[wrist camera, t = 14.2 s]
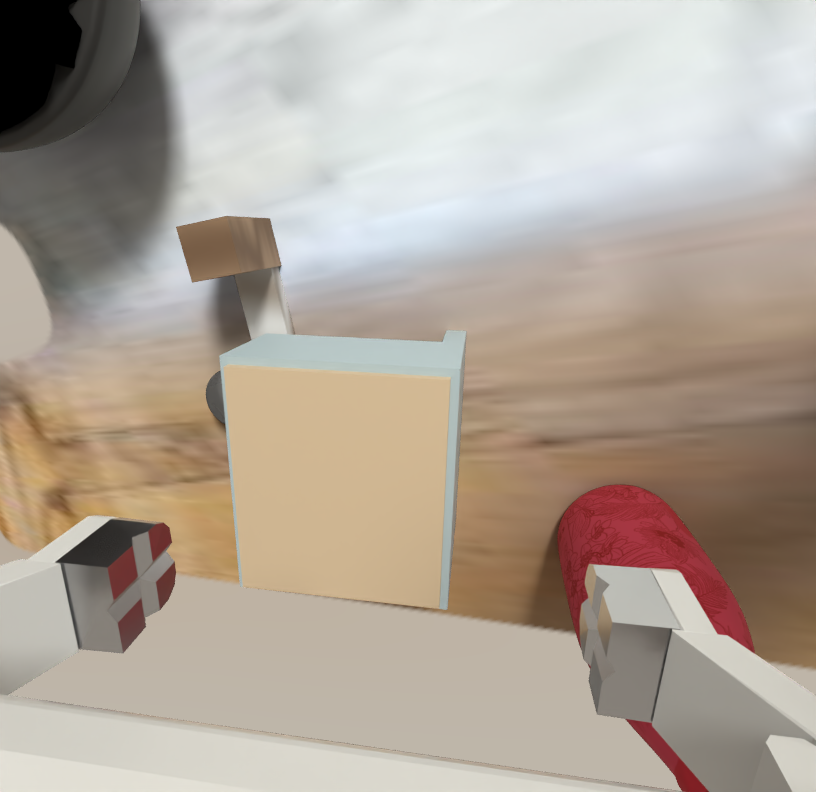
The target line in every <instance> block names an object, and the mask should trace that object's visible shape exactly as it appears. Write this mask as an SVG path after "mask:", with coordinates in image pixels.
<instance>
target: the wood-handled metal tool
mask: <svg viewBox="0 0 816 792" xmlns="http://www.w3.org/2000/svg"><path fill="white" fill-rule="evenodd" d="M176 228H177V232H178V235H179V239H180V242H181V245H182V249H183V252H184V256H185V259H186V263H187V266H188V269H189V273H190V276H191V280H192V282H198V281H203V280H209V279H214V278H220V277H226V276H231V275H234V277H235V281H236V285H237V288H238V292H239V296H240V299H241V303H242V307H243V310H244V314H245V318H246V322H247V325H248V329H249V333H250V336H251V340H253V339H255V338H258V337H260V336H262V335H264V334H266V333H269V334H290V335H295V332H294V328H293V324H292V320H291V316H290V312H289V307H288V303H287V299H286V295H285V291H284V287H283V283H282V279H281V275H280V271H279V267H278V266H281V262H280V258H279V254H278V250H277V246H276V242H275V238H274V234H273V230H272V225H271V221H270V219H269V218H251V217H234V216H224V217H220V218H215V219H211V220H206V221H201V222H197V223H192V224H188V225H183V226H178V227H176Z"/></svg>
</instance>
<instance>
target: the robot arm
mask: <svg viewBox="0 0 816 792" xmlns="http://www.w3.org/2000/svg"><path fill="white" fill-rule="evenodd" d="M171 543H172V540H171V534H170V529H169V527H168V526H167V525H166V524H164V523H162V522H153V521H145V520H136V519H128V518H116V517H111V516H99V515H95V516H88V517H86V518H85V519H84V520H82V521H81V522H79V523H78V524H77V525H75V526H74V527H72V528H71V529H70V530H68V531H67V532H65V533H64V534H63V535H61V536H60V537H58V538H57V539H56V540H54V541H53V542H51V543H50V544H49V545H47V546H46V547H44V548H43V549H42V550H40V551H39V552H37V553H36V554H35V555H33V556H32V557H31V558H29V559H28V560H22V559H19V560H16V561H13V562H10V563H7V564H4V565H1V566H0V792H683V791H676V790H668V789H662V788H654V787H648V786H641V785H633V784H626V783H619V782H611V781H604V780H597V779H589V778H583V777H576V776H569V775H562V774H555V773H548V772H540V771H534V770H527V769H520V768H513V767H506V766H500V765H492V764H486V763H479V762H471V761H464V760H458V759H451V758H444V757H437V756H430V755H423V754H417V753H409V752H402V751H396V750H389V749H382V748H375V747H368V746H361V745H354V744H347V743H340V742H333V741H326V740H319V739H312V738H304V737H298V736H290V735H284V734H277V733H269V732H262V731H255V730H248V729H241V728H234V727H227V726H219V725H213V724H206V723H199V722H191V721H184V720H178V719H170V718H163V717H156V716H149V715H142V714H135V713H128V712H122V711H115V710H108V709H101V708H94V707H87V706H80V705H73V704H65V703H59V702H52V701H45V700H38V699H31V698H24V697H17V696H10V695H8V694H10V693H12V692H13V691H15V690H17V689H18V688H20V687H22V686H23V685H25V684H26V683H28V682H30V681H31V680H33V679H35V678H36V677H38V676H40V675H41V674H43V673H44V672H46V671H48V670H49V669H51V668H52V667H54V666H56V665H57V664H59V663H61V662H62V661H64V660H66V659H67V658H69V657H71V656H72V655H74V654H76V653H77V652H78V651H79V649H83V650H94V651H104V652H114V653H124V652H125V650H126V649H127V648H128V647H129V646H130V645H131V643H132V642H133V641H134V640H135V639H136V638H137V636H138V635H139V634H140V633H141V632H142V631H143V629H144V628H145V627H146V623H145V617H147V616H149V615H151V614H153V613H155V612H157V611H159V610H160V609H161V608H162V607H163V605H164V604H165V603H166V602H167V601H168V599H169V597H170V595H171V592H172V590H173V587H174V584H175V576H176V569H175V562H174V560H173V559H172V558H171V557H170V555H169V554H168V553H167V552H166V550H167V549H168V547H169V546H170V544H171ZM585 587H586V590H587V594H588V597H589V598H588V599H587V600H585V601H584V602H583V603H582V604H581V613H580V643H581V649H582V654H583V658H584V660H585V661H586V662H587V663H588V664H589V665H590V666H591V669H590V676H589V683H590V687H591V691H592V696H593V700H594V704H595V708H596V712H597V714H598V715H604V716H611V717H617V718H624V719H630V720H636V721H643V722H649V723H652V726H653V728H654V729H655V730H656V731H657V732H658V733H659V735H660V736H661V737H662V738H663V739H664V740H665V741H666V743H667V744H668V745H669V746H670V747H671V748H672V750H673V751H674V752H675V753H676V754H677V755H678V756H679V758H680V759H681V760H682V761H683V762H684V763H685V764H686V766H687V767H688V768H689V769H690V770H691V771H692V773H693V774H694V775H695V776H696V777H697V778H698V779H699V781H700V782H701V783H702V784H703V785H704V786H705V788H706V789H707V790H708V791H709V792H816V695H815V694H813V693H812V692H810V691H809V690H807V689H806V688H804V687H803V686H802V685H800V684H798V683H797V682H795V681H794V680H793V679H791V678H790V677H788V676H787V675H785V674H784V673H782V672H781V671H779V670H778V669H776V668H775V667H773V666H772V665H770V664H769V663H768V662H766V661H765V660H763V659H762V658H760V657H759V656H757V655H756V654H754V653H753V652H751V651H750V650H748V649H747V648H745V647H744V646H742V645H741V644H739V643H738V642H736V641H735V640H733V639H732V638H731V637H729V636H728V635H719V634H717V632H716V630H715V629H714V627H713V625H712V624H711V622H710V620H709V619H708V617H707V615H706V614H705V612H704V610H703V609H702V607H701V605H700V604H699V602H698V600H697V599H696V597H695V595H694V594H693V592H692V590H691V589H690V587H689V585H688V584H687V582H686V580H685V579H684V577H683V575H682V573H681V572H679V571H678V570H674V569H658V568H637V567H624V566H610V565H597V564H589V565H588V568H587V571H586V577H585Z"/></svg>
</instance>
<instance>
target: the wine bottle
mask: <svg viewBox="0 0 816 792" xmlns="http://www.w3.org/2000/svg"><path fill="white" fill-rule="evenodd" d="M557 539H558V551H559V558H560V564H561V569H562V574H563V579H564V584H565V589H566V594H567V599H568V604H569V608H570V612H571V616H572V620H573V624H574V628H575V631H576V635H577V638H578V642H579V645H580V647H581V643H580V613H581V604H582V603H583V602H584V601H585V600H587V599H588V598H589V597H588V594H587V590H586V587H585V577H586V571H587V568H588V565H589V564H597V565H610V566H624V567H637V568H658V569H674V570H678V571H679V572H681V573H682V575H683V577H684V579H685V580H686V582H687V584H688V585H689V587H690V589H691V590H692V592H693V594H694V595H695V597H696V599H697V600H698V602H699V604H700V605H701V607H702V609H703V610H704V612H705V614H706V615H707V617H708V619H709V620H710V622H711V624H712V625H713V627H714V629H715V630H716V632H717V634H719V635H728V636H729V637H731V638H732V639H733V640H735V641H736V642H738V643H739V644H741V645H742V646H744V647H745V648H747V649H748V650H750V651H751V652H753V653H754V654H755V651H754V647H753V642H752V639H751V635H750V632H749V629H748V626H747V623H746V620H745V617H744V615H743V613H742V611H741V609H740V607H739V605H738V603H737V601H736V599H735V597H734V595H733V593H732V592H731V590H730V588H729V587H728V585H727V584H726V582H725V581H724V579H723V578H722V576H721V575H720V573H719V572H718V570H717V569H716V567H715V566H714V565H713V563H712V562H711V560H710V559H709V557H708V556H707V555H706V553H705V552H704V550H703V549H702V548H701V546H700V545H699V544H698V542H697V541H696V540H695V538H694V537H693V535H692V534H691V533H690V531H689V530H688V529H687V527H686V526H685V525H684V524H683V522H682V521H681V520H680V518H679V517H678V516H677V515H676V513H675V512H674V511H673V510H672V509H671V508H670V507H669V505H668V504H667V503H665V502H664V501H663V500H662V499H661V498H659V497H658V496H656V495H655V494H653V493H651V492H649V491H647V490H645V489H642V488H639V487H635V486H630V485H609V486H604V487H600V488H596V489H594V490H591V491H589V492H587V493H585V494H584V495H582V496H581V497H579V498H578V499H577V500H576V501H574V502H573V503H572V504H571V505H570V506H569V508H568V509H567V510H566V512H565V513H564V515H563V517H562V520H561V522H560V525H559V529H558V538H557ZM581 650H582V649H581ZM588 665H589V664H588ZM589 667H590V669H591V666H590V665H589ZM626 720H627V722H629V724H630V725H631V726H632V727H633V728H634V730H635V731H636V732H637V733H638V734H639V735H640V736H641V737H642V738H643V739H644V741H645V742H646V743H647V744H648V745H649V746H650V747H651V748H652V749H653V750H654V751H655V753H656V754H657V755H658V756H659V757H660V759H661V760H662V761H663V762H664V763H665V764H666V765H667V767H668V768H669V769H670V770H671V772H672V773H673V774H674V775H675V777H676V780H677V783H678V785H679V787H680V788H681V790H682V791H683V792H709V791H708V790H707V789H706V788H705V786H704V785H703V784H702V783H701V782H700V781H699V779H698V778H697V777H696V776H695V775H694V774H693V773H692V771H691V770H690V769H689V768H688V767H687V766H686V764H685V763H684V762H683V761H682V760H681V759H680V758H679V756H678V755H677V754H676V753H675V752H674V751H673V750H672V748H671V747H670V746H669V745H668V744H667V743H666V741H665V740H664V739H663V738H662V737H661V736H660V735H659V733H658V732H657V731H656V730H655V729H654V728H653V726H652V723H649V722H643V721H636V720H630V719H626Z"/></svg>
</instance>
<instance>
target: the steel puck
mask: <svg viewBox="0 0 816 792" xmlns="http://www.w3.org/2000/svg"><path fill="white" fill-rule="evenodd" d="M206 400H207V403H208V406H209V408H210V410H211V412H212V413H213V415H214V416H215V417H216V418H217V419H218V420H219V421H221V422H222V423H224V424H225V413H224V401H223V390H222V379H221V371H219V372H217V373H216V374H215V375H213V376H212V378H211V379H210V381H209V382H208V385H207V388H206Z"/></svg>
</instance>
